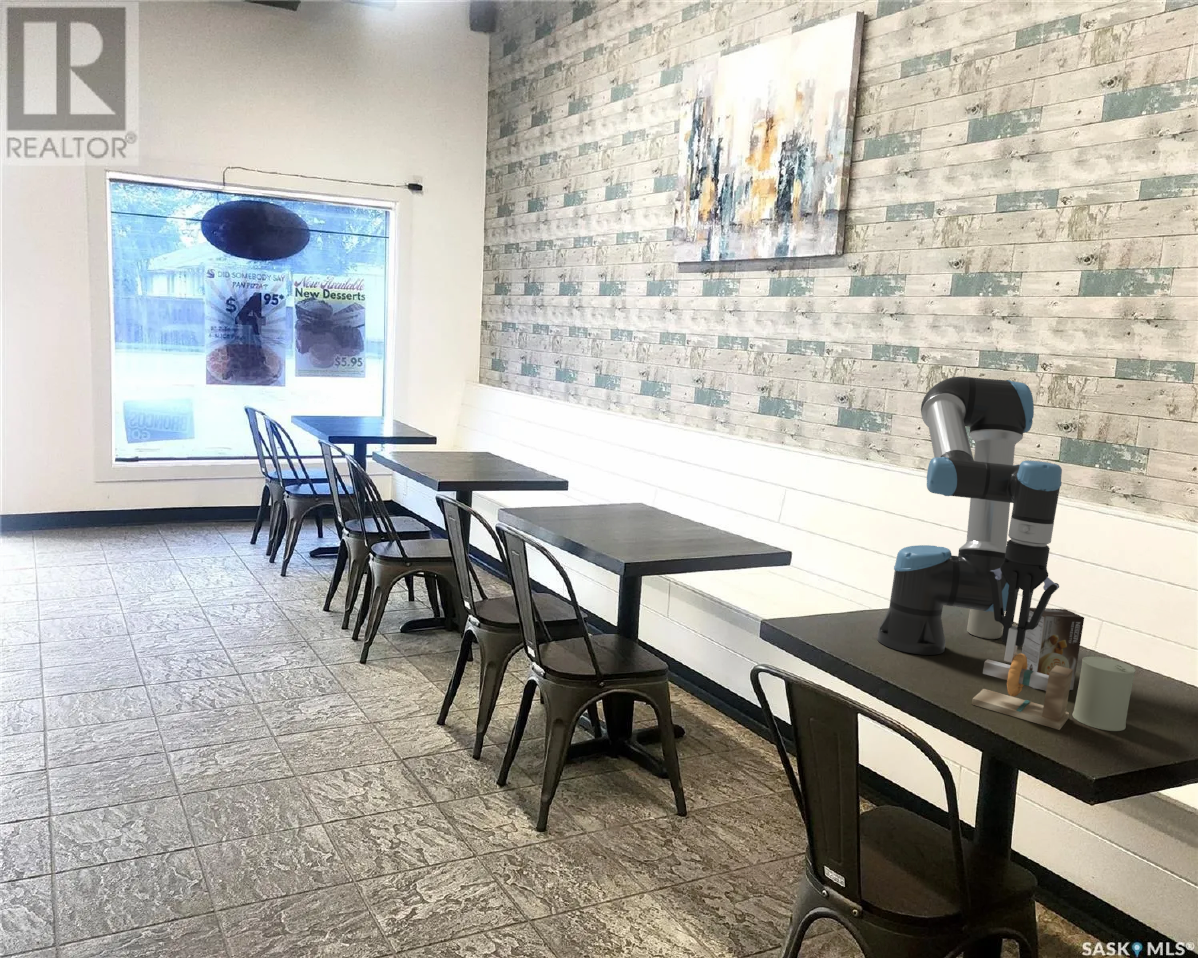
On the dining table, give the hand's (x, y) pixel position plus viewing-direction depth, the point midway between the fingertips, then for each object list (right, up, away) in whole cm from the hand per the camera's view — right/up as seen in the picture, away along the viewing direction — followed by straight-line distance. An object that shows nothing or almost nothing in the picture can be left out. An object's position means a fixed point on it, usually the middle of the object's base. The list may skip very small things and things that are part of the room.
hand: (1009, 660), depth 186 cm
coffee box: (+15, -9, +17) cm, 25 cm away
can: (+17, -12, -2) cm, 20 cm away
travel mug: (+16, -4, +51) cm, 54 cm away
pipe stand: (+2, -10, 0) cm, 10 cm away
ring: (+1, -7, 0) cm, 7 cm away
